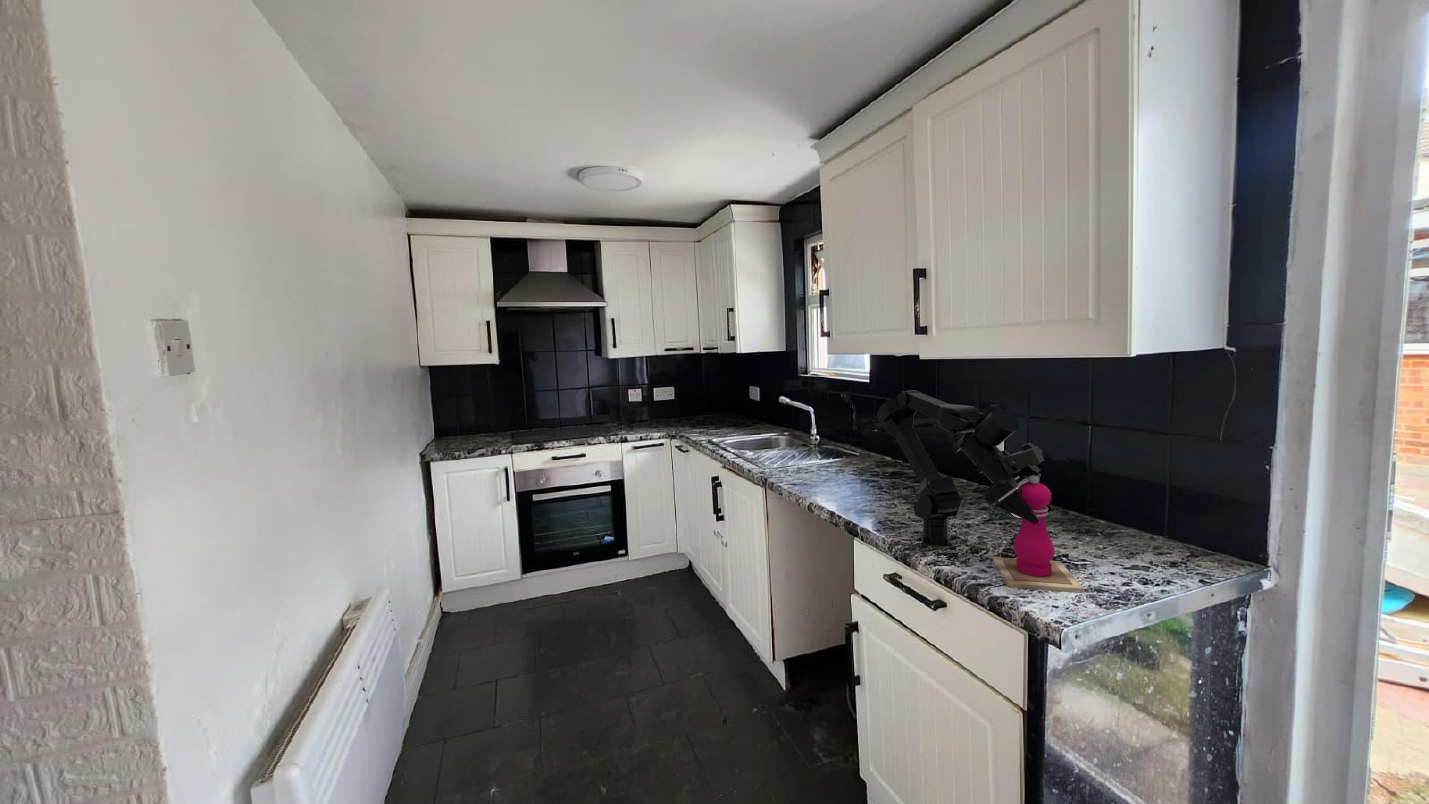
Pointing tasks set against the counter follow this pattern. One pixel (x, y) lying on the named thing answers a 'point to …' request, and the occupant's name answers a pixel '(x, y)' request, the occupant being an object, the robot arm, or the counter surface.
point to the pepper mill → (1034, 532)
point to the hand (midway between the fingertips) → (1044, 516)
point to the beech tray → (1054, 581)
